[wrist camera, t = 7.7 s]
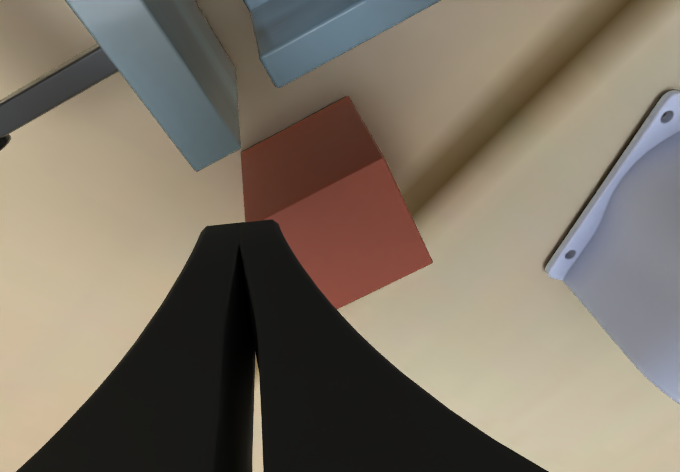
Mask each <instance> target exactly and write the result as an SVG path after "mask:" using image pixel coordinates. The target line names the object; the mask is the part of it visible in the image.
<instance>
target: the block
mask: <svg viewBox="0 0 680 472" xmlns="http://www.w3.org/2000/svg"><path fill="white" fill-rule="evenodd" d="M241 163H242V179H243V194H244V209H245V222H252V221H261V220H271V219H273V220H274V221H275V222H277V223H278V224H279V226H280V229H281V231H282V233H283V235H284V237H285V239H286V241H287V243H288V245H289V246H290V248H291V250H292V251H293V253H294V254H295V256H296V258H297V259H298V261H299V262H300V264H301V265H302V267H303V268H304V269H305V271H306V272H307V273H308V275H309V276H310V277H311V279H312V280H313V281H314V283H315V284H316V285H317V287H318V288H319V289H320V291H321V292H322V293H323V294H324V295H325V297H326V298H327V299H328V300H329V301H330V303H331V304H332V305H333V306H334V307H335V308H336V309H338V308H341V307H343V306H345V305H347V304H349V303H351V302H353V301H355V300H357V299H359V298H361V297H363V296H365V295H367V294H369V293H372V292H374V291H376V290H378V289H380V288H382V287H384V286H386V285H388V284H390V283H392V282H394V281H396V280H398V279H401V278H403V277H405V276H407V275H409V274H411V273H413V272H415V271H417V270H419V269H421V268H423V267H425V266H427V265H430V264H432V263H433V261H432V259H431V257H430V255H429V252H428V250H427V248H426V246H425V244H424V242H423V240H422V238H421V235H420V233H419V231H418V229H417V227H416V225H415V223H414V220H413V218H412V216H411V214H410V212H409V210H408V208H407V206H406V203H405V201H404V199H403V197H402V195H401V193H400V191H399V189H398V186H397V184H396V182H395V180H394V178H393V176H392V174H391V172H390V169H389V167H388V165H387V163H386V161H385V159H384V157H383V155H382V153H381V152H380V150H379V148H378V146H377V145H376V143H375V141H374V139H373V138H372V136H371V134H370V133H369V131H368V129H367V127H366V126H365V124H364V122H363V120H362V119H361V117H360V115H359V113H358V112H357V110H356V108H355V106H354V105H353V103H352V101H351V99H350V98H349V96H346V97H344V98H343V99H341V100H339V101H337V102H335V103H333V104H331V105H329V106H328V107H326V108H324V109H322V110H320V111H318V112H316V113H314V114H313V115H311V116H309V117H307V118H305V119H303V120H301V121H299V122H298V123H296V124H294V125H292V126H290V127H288V128H286V129H284V130H283V131H281V132H279V133H277V134H275V135H273V136H271V137H269V138H268V139H266V140H264V141H262V142H260V143H258V144H256V145H254V146H253V147H251V148H249V149H247V150H245V151H243V152H241Z"/></svg>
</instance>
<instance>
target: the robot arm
mask: <svg viewBox="0 0 680 472" xmlns="http://www.w3.org/2000/svg"><path fill="white" fill-rule="evenodd" d="M665 112H666V114H665V115H664V116H663V117H662V115H663V114H664V113H665ZM661 117H662V118H661ZM568 251H569V252H568ZM567 252H568V253H567ZM545 272H546V273H547V274H548V276H549V277H550V278H553V279H558V280H563V281H564V283H565V284H566V285H567V286H568V287H569V289H570V290H571V291H572V292H573V293H574V295H575V296H576V297H577V298H578V299H579V300H580V302H581V303H582V304H583V305H584V306H585V308H586V309H587V310H588V311H589V312H590V314H591V315H592V316H593V317H594V318H595V319H596V321H597V322H598V323H599V324H600V325H601V327H602V328H603V329H604V330H605V331H606V332H607V334H608V335H609V336H610V337H611V338H612V340H613V341H614V342H615V343H616V344H617V346H618V347H619V348H620V349H621V350H622V351H623V353H624V354H625V355H626V356H627V357H628V359H629V360H630V361H631V362H632V363H633V364H634V366H635V367H636V368H637V369H638V370H639V371H640V372H641V373H642V374H643V375H644V376H645V377H646V378H647V379H648V380H649V381H650V382H652V383H653V384H654V385H655V386H656V387H658V388H659V389H660V390H661V391H662V392H664V393H665V394H666V395H668V396H669V397H670V398H672V399H673V400H674V401H676V402H677V403H679V404H680V91H677V90H672V91H669V92H667V93H666V94H664V95H663V96H662V97H661V98H660V100H659V101H658V103H657V104H656V106H655V107H654V109H653V110H652V112H651V113H650V115H649V116H648V117H647V119H646V120H645V122H644V123H643V125H642V126H641V128H640V129H639V131H638V132H637V134H636V135H635V136H634V138H633V139H632V141H631V142H630V144H629V145H628V147H627V148H626V150H625V151H624V153H623V154H622V155H621V157H620V158H619V160H618V161H617V163H616V164H615V166H614V167H613V169H612V170H611V172H610V173H609V175H608V176H607V177H606V179H605V180H604V182H603V183H602V185H601V186H600V188H599V189H598V191H597V192H596V194H595V195H594V196H593V198H592V199H591V201H590V202H589V204H588V205H587V207H586V208H585V210H584V211H583V213H582V214H581V216H580V217H579V218H578V220H577V221H576V223H575V224H574V226H573V227H572V229H571V230H570V232H569V233H568V235H567V236H566V237H565V239H564V240H563V242H562V243H561V245H560V246H559V248H558V249H557V251H556V252H555V254H554V255H553V257H552V258H551V259H550V261H549V262H548V264H547V265H546V268H545ZM255 352H256V357H257V363H258V368H259V374H260V395H261V416H262V440H263V466H264V472H548V471H546V470H545V469H543V468H541V467H540V466H538V465H536V464H535V463H533V462H531V461H529V460H528V459H526V458H524V457H523V456H521V455H519V454H518V453H516V452H514V451H513V450H511V449H509V448H507V447H506V446H504V445H502V444H501V443H499V442H497V441H496V440H494V439H493V438H491V437H489V436H488V435H486V434H485V433H483V432H482V431H481V430H479V429H478V428H476V427H475V426H473V425H472V424H470V423H469V422H467V421H466V420H464V419H463V418H461V417H460V416H459V415H457V414H456V413H454V412H453V411H451V410H450V409H448V408H447V407H446V406H445V405H443V404H442V403H441V402H439V401H438V400H437V399H435V398H434V397H433V396H432V395H430V394H429V393H428V392H426V391H425V390H424V389H422V388H421V387H420V386H419V385H417V384H416V383H415V382H413V381H412V380H411V379H409V378H408V377H407V376H406V375H404V374H403V373H402V372H401V371H399V370H398V369H397V368H396V367H395V366H394V365H393V364H391V363H390V362H389V361H388V360H387V359H386V358H385V357H383V356H382V355H381V354H380V353H379V352H378V351H377V350H376V349H375V348H374V347H372V346H371V345H370V344H369V343H368V342H367V341H366V340H365V339H364V338H363V337H362V336H361V335H360V334H359V333H358V332H357V331H356V330H355V329H354V328H353V327H352V326H351V325H350V324H349V323H348V322H347V321H346V319H345V318H344V317H343V316H342V315H341V314H340V313H339V312H338V311H337V309H336V308H335V307H334V306H333V305H332V304H331V303H330V301H329V300H328V299H327V298H326V297H325V295H324V294H323V293H322V292H321V291H320V289H319V288H318V287H317V285H316V284H315V283H314V281H313V280H312V279H311V277H310V276H309V275H308V273H307V272H306V271H305V269H304V268H303V267H302V265H301V264H300V262H299V261H298V259H297V258H296V256H295V254H294V253H293V251H292V250H291V248H290V246H289V245H288V243H287V241H286V239H285V237H284V235H283V233H282V231H281V229H280V226H279V224H278V223H277V222H275V221H274V220H273V219H271V220H261V221H252V222H242V223H233V224H223V225H214V226H206V227H205V228H204V230H203V231H202V232H201V234H200V236H199V238H198V240H197V243H196V245H195V247H194V249H193V251H192V253H191V255H190V257H189V259H188V261H187V262H186V264H185V266H184V268H183V270H182V272H181V273H180V275H179V277H178V278H177V280H176V282H175V283H174V285H173V287H172V288H171V290H170V292H169V293H168V295H167V297H166V298H165V300H164V301H163V303H162V305H161V306H160V308H159V309H158V310H157V312H156V313H155V315H154V316H153V318H152V319H151V321H150V322H149V323H148V325H147V326H146V328H145V329H144V331H143V332H142V333H141V335H140V336H139V338H138V339H137V341H136V342H135V343H134V345H133V346H132V347H131V348H130V350H129V351H128V352H127V354H126V355H125V356H124V357H123V359H122V360H121V361H120V362H119V364H118V365H117V366H116V367H115V369H114V370H113V371H112V372H111V373H110V375H109V376H108V377H107V378H106V379H105V381H104V382H103V383H102V384H101V385H100V386H99V388H98V389H97V390H96V391H95V392H94V393H93V394H92V395H91V397H90V398H89V399H88V400H87V401H86V402H85V403H84V404H83V405H82V406H81V407H80V408H79V410H78V411H77V412H76V413H75V414H74V415H73V416H72V417H71V418H70V419H69V420H68V421H67V422H66V424H65V425H64V426H63V427H62V428H61V429H60V430H59V431H58V432H57V433H56V434H55V435H54V436H53V437H52V438H51V439H50V440H49V441H48V442H47V443H46V444H45V445H44V446H43V447H42V448H41V449H40V450H39V451H38V452H37V453H36V454H35V455H34V456H33V457H31V458H30V459H29V460H28V461H27V462H26V463H25V464H24V465H23V466H22V467H21V468H20V469H18V470H17V471H16V472H252V446H253V412H254V378H255Z"/></svg>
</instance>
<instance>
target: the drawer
mask: <svg viewBox="0 0 680 472" xmlns="http://www.w3.org/2000/svg"><path fill="white" fill-rule="evenodd" d="M65 1H66V2H67V4H68V5H69V6H70V8H71V9H72V10H73V12H74V13H75V14H76V16H77V17H78V18H79V19H80V21H81V22H82V23H83V25H84V26H85V27H86V29H87V30H88V31H89V33H90V34H91V35H92V37H93V38H94V39H95V41H96V42H97V43H98V44H96V45H94V46H93V47H91V48H89V49H87V50H86V51H84V52H82V53H80V54H79V55H77V56H75V57H74V58H72V59H70V60H68V61H67V62H65V63H63V64H62V65H60V66H58V67H56V68H55V69H53V70H51V71H49V72H48V73H46V74H44V75H43V76H41V77H39V78H37V79H36V80H34V81H32V82H31V83H29V84H27V85H25V86H24V87H22V88H20V89H18V90H17V91H15V92H13V93H12V94H10V95H8V96H6V97H5V98H3V99H1V100H0V151H1V150H2V149H3V148H4V147H5V146H6V145H7V144H8V143H9V141H10V140H11V136H10V135H9V133H11V132H13V131H15V130H16V129H18V128H20V127H22V126H23V125H25V124H27V123H29V122H30V121H32V120H34V119H36V118H37V117H39V116H41V115H43V114H45V113H46V112H48V111H50V110H52V109H53V108H55V107H57V106H59V105H60V104H62V103H64V102H66V101H67V100H69V99H71V98H73V97H74V96H76V95H78V94H80V93H81V92H83V91H85V90H87V89H88V88H90V87H92V86H94V85H95V84H97V83H99V82H101V81H102V80H104V79H106V78H108V77H109V76H111V75H113V74H115V73H116V72H118V71H119V72H120V73H121V75H122V76H123V77H124V79H125V80H126V81H127V83H128V84H129V85H130V86H131V88H132V89H133V90H134V92H135V93H136V94H137V96H138V97H139V98H140V100H141V101H142V102H143V104H144V105H145V106H146V107H147V109H148V110H149V111H150V113H151V114H152V115H153V117H154V118H155V119H156V121H157V122H158V123H159V125H160V126H161V127H162V128H163V130H164V131H165V132H166V134H167V135H168V136H169V138H170V139H171V140H172V142H173V143H174V144H175V146H176V147H177V148H178V149H179V151H180V152H181V153H182V155H183V156H184V157H185V159H186V160H187V161H188V163H189V164H190V165H191V167H192V168H193V169H194V170H195V171H196V172H197V171H199V170H201V169H203V168H205V167H207V166H209V165H211V164H212V163H214V162H216V161H218V160H220V159H222V158H224V157H226V156H227V155H229V154H231V153H233V152H235V151H237V150H239V149H240V148H241V141H240V126H239V111H238V96H237V81H236V69H235V67H234V65H233V64H232V62H231V60H230V59H229V57H228V55H227V54H226V52H225V50H224V49H223V47H222V45H221V44H220V42H219V41H218V39H217V37H216V36H215V34H214V32H213V31H212V29H211V27H210V26H209V24H208V22H207V21H206V19H205V17H204V16H203V14H202V13H201V11H200V9H199V8H198V6H197V4H196V3H195V1H194V0H65ZM439 1H441V0H244V2H245V4H246V6H247V8H248V10H249V11H250V13H251V18H252V23H253V28H254V33H255V38H256V43H257V48H258V53H259V57H260V61H261V62H262V64H263V66H264V68H265V69H266V71H267V73H268V75H269V76H270V78H271V80H272V82H273V83H274V85H275V87H277V88H281V87H283V86H284V85H286V84H288V83H290V82H292V81H294V80H295V79H297V78H299V77H301V76H303V75H305V74H306V73H308V72H310V71H312V70H314V69H316V68H317V67H319V66H321V65H323V64H325V63H327V62H328V61H330V60H332V59H334V58H336V57H338V56H340V55H341V54H343V53H345V52H347V51H349V50H351V49H352V48H354V47H356V46H358V45H360V44H362V43H363V42H365V41H367V40H369V39H371V38H373V37H374V36H376V35H378V34H380V33H382V32H384V31H385V30H387V29H389V28H391V27H393V26H395V25H397V24H398V23H400V22H402V21H404V20H406V19H408V18H409V17H411V16H413V15H415V14H417V13H419V12H420V11H422V10H424V9H426V8H428V7H430V6H431V5H433V4H435V3H437V2H439Z"/></svg>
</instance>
